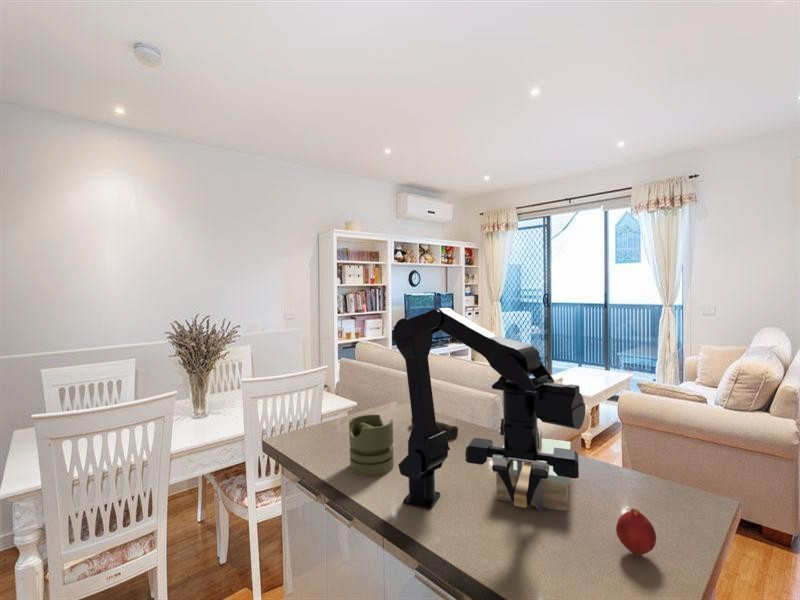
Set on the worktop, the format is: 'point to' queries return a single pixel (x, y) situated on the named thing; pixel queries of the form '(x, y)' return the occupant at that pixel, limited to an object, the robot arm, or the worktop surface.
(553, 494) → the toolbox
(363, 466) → the piston
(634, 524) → the onion
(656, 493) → the worktop surface
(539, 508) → the bracket
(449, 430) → the hand tool
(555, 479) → the lid
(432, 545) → the worktop surface
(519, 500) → the tan rectangular bar
